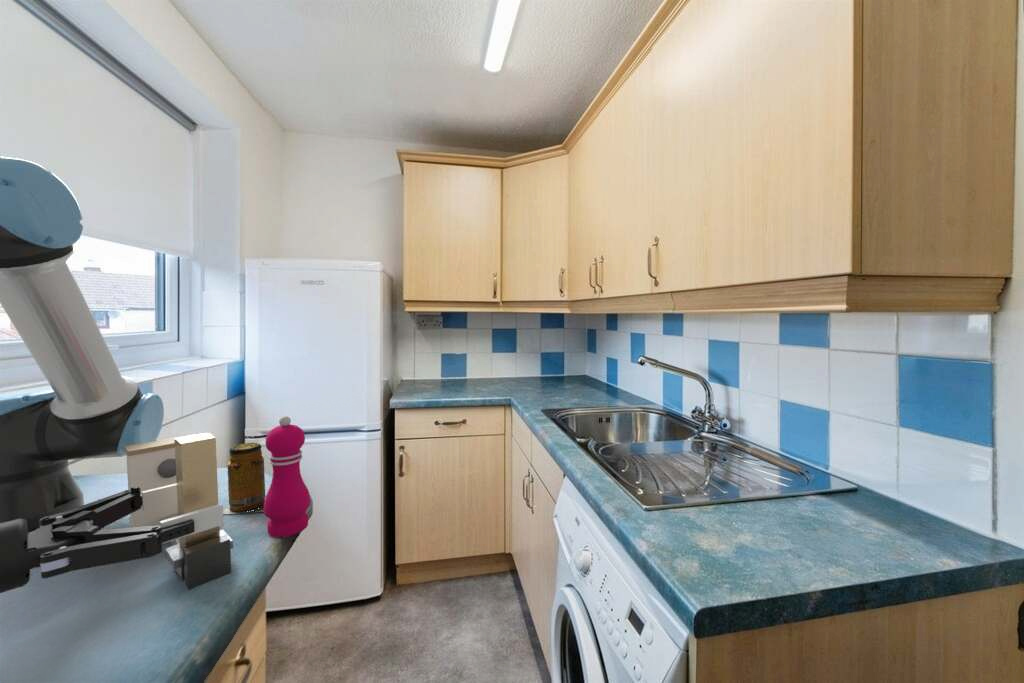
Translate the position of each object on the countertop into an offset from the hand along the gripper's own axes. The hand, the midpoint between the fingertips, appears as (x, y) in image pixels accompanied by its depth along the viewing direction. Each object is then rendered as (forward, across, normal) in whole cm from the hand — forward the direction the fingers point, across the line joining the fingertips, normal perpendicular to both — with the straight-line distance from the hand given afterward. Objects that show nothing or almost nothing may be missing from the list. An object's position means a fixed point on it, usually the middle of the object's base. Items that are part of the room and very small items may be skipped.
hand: (209, 499), depth 61 cm
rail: (-1, -8, -10) cm, 13 cm away
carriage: (-1, 0, -10) cm, 10 cm away
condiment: (+11, -18, -10) cm, 23 cm away
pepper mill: (+12, -2, -10) cm, 16 cm away
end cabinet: (-1, -21, -10) cm, 24 cm away
